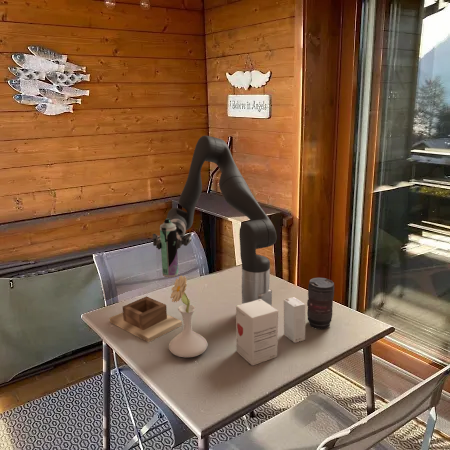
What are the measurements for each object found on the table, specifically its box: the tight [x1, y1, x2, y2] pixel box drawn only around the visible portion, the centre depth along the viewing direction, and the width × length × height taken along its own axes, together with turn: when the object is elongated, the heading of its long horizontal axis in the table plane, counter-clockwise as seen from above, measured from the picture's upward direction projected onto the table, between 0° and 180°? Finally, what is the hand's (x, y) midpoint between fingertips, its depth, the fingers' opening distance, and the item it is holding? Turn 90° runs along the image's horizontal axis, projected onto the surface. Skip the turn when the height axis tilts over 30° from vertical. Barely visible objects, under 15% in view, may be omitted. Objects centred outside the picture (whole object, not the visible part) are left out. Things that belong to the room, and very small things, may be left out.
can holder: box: [109, 296, 183, 343], centre depth 154 cm, size 20×14×6 cm
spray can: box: [159, 217, 179, 278], centre depth 159 cm, size 6×6×20 cm
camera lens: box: [306, 277, 335, 330], centre depth 150 cm, size 8×8×15 cm
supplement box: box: [235, 299, 279, 366], centre depth 134 cm, size 9×9×15 cm
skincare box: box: [283, 296, 306, 344], centre depth 144 cm, size 6×4×12 cm
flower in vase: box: [168, 275, 208, 358], centre depth 134 cm, size 13×11×25 cm
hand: (167, 246), depth 156 cm, fingers closed on spray can, 5 cm apart
